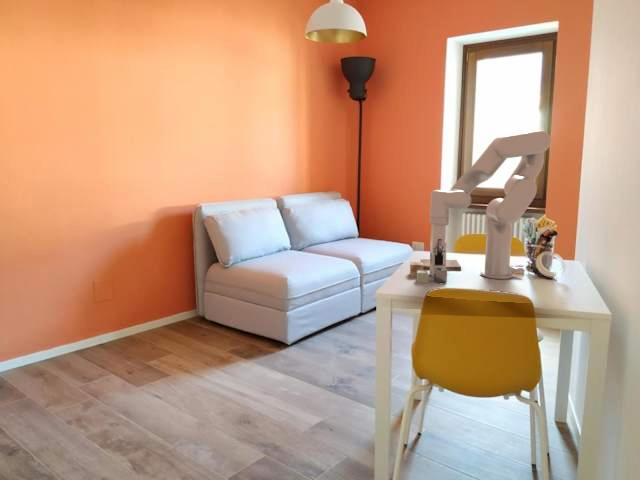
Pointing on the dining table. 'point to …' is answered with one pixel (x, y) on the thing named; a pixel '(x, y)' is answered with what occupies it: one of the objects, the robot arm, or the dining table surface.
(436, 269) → the grey tin
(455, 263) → the walnut board
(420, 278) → the sage cube
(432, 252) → the syrup box
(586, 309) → the dining table surface
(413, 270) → the oak block
